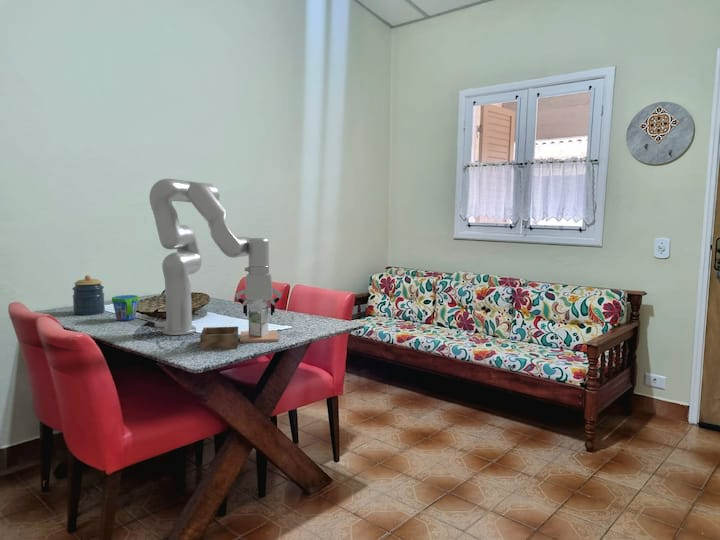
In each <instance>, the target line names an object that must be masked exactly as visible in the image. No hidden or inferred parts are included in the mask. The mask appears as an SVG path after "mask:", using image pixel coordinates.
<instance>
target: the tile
mask: <svg viewBox="0 0 720 540" xmlns="http://www.w3.org/2000/svg"><path fill="white" fill-rule="evenodd" d="M241 342H242V343H241ZM245 342H253V343H273V342H274V343H275V342H279V334H278V330H275V329H273V330H269V334H267V335H265V336H263V337H256V336H249V330H246V331H243V330H242V331H240V337H239V343H240V344H246V343H245Z"/></svg>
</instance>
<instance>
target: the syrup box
mask: <svg viewBox="0 0 720 540" xmlns="http://www.w3.org/2000/svg"><path fill="white" fill-rule="evenodd" d="M247 310H248V331H249V336H256V337H263V336H265V335H267V334H269V331H270V329H269V301H263V300H262V299H260V300H256V301H248V303H247Z"/></svg>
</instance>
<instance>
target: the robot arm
mask: <svg viewBox="0 0 720 540" xmlns="http://www.w3.org/2000/svg"><path fill="white" fill-rule="evenodd" d="M148 197H149V203H150V208H151V210H152V213H153V218H154V220H155V221H154V222H155V226H156V230H157V234H158V238H159V242H160V244H161V246H162V247H163V248H164V249H166V250H171V251H172V250H176V251H177V252H172V253H170V254H168V255H166V256H165V257H164V259H163V260H162V265H161V267H162V273H163V279H164V286H165V287H164V289H165V312H166V313H165V316H166V318H165V319H166V320H165V321H164V320H163V322H160V321H155V322H154V327H155V328H157V329H161V328H162V329H161V330H162V331H161V332H162V334H164V335H168V336H184V335H189V334H193V333H196V331H197V327H195V326H193V325H192V324H193V321H192V320H193V318H192V315H193V311H192V284H191V282H190V278H189V275H190V276H191V275H193V274H197V272H199V271H200V269H201V267H202V258H201V257H202V256H201V252H200V248H199V247H200V246H199V243H198V240H197V236H196V234H195V232H194V230H193V229H192V228H191V227H190V226H188V225H185V224H181V223H180V220H179V217H178V212H177V210H176V209H175V207H174V205H173V202H183V203H191V204H192V205H193V207H194V208H195V209H196V210H197V212H198V213H199V214H200V216H201V217H202V218H203V220H204V221H205V222H206V223H207V225H208V230H209V233H210V236H211V238H212V240H213V241H214V243H215V245H216V246H217V247H218V248H219V250H220V251H221V252H222V253H223V254H224V255H225V256H226V257H228V258H231V259H232V258H233V259H235V258H242V257H246V256H248V266H247V267H244V272H247V273H246V276H245V282H244V283H245V288H244V289H242V290H240V291H238V292H236V293H235V297H236V299H237V301H238V302H239V303H240V304H241V305H242V310H243V311H242V312H243V314H244V316H245V317H247V316H248V301H256V300H260V299H262V300H263V301H268V302H270V316H274V314H275V310H276V309H275V308H276V307H275V305H276V304H277V303H278V302H279V301H280V299H281V297H282V295H283V293H282V292H281V291H278V290H277V289H274V288H273V278H272V274H271V273H270V259H269V258H270V251H269V249H270V248H269V247H270V246H269V245H270V243H269V242H270V241H269V239H268V238H265V237H249V236H235V235H234V234H233V233H232V232H231V230H230V229H229V227H228V226H227V223H226V217H227V215H228V213H227V210H226V209H225V207H224V205H222V204H221V202H220V201H219V200H220V192H219V189H218V187H217V186H215V185H214V184H212V183H206V182H198V181H197V182H196V181H191V180H190V181H189V180H183V179H177V178H176V179H175V178H163V179H160V180H158V181H156V182H155V183H154V184H153V186H152V187H151V188H150V192H149V196H148ZM273 294H275V295H277V296H276V297H275V298H273ZM242 295H244V297H245V299H243V298H242V297H241V296H242Z"/></svg>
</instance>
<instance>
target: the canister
mask: <svg viewBox="0 0 720 540" xmlns="http://www.w3.org/2000/svg"><path fill="white" fill-rule="evenodd" d="M91 276H92V275H90V274H87V275H85V276H84V278H83V279H78V280H76V282H74V283H73V284H74V286H73V287H72V288H71V289H72V291H73V295H72V300H73V301H72V303H73V304H72V305H73V309H72V310H73V311H72V312H73V315H78V316H91V315H93V316H94V315H99V314H103V313H104V312H105V309H106V308H105V293H104V288H105V286H103V285H102V281H101V280H99V279H96V278H92V277H91Z"/></svg>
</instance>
